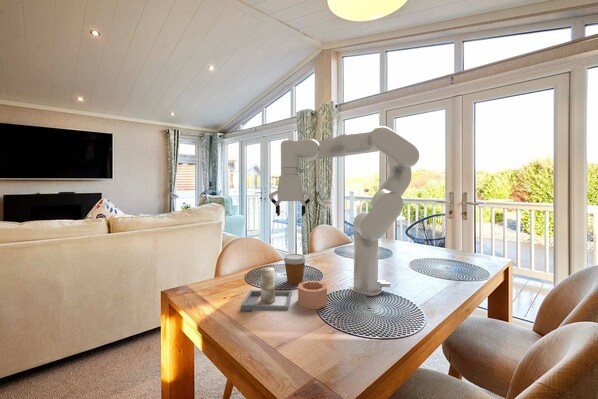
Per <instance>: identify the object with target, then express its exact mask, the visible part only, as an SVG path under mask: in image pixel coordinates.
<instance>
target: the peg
mask: <svg viewBox="0 0 598 399" xmlns="http://www.w3.org/2000/svg"><path fill="white" fill-rule="evenodd" d="M275 271H276V270H275V268H274V267H269V266H268V267H262V268H260V291H261V295H260V303H261V304H262V305H273V304H274V303H275V302H276V295H275V291H276V290H275V289H276V288H275V287H276V286H275V285H276V283H275V282H276V281H275V280H276V278H275V276H276V274H275Z"/></svg>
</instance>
